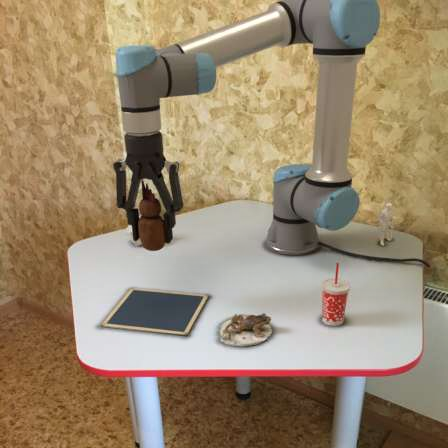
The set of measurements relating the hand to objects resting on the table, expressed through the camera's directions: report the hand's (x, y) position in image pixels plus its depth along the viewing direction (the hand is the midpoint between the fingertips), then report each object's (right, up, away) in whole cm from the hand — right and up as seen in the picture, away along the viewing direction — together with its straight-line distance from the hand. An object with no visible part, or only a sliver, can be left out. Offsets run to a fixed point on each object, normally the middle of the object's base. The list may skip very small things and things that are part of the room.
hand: (153, 239), depth 117 cm
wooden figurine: (0, -2, +1) cm, 2 cm away
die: (-9, +4, +43) cm, 44 cm away
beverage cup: (+40, -18, +2) cm, 44 cm away
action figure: (+62, +3, +39) cm, 74 cm away
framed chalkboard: (0, -16, +7) cm, 17 cm away
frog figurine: (+20, -20, -1) cm, 29 cm away
